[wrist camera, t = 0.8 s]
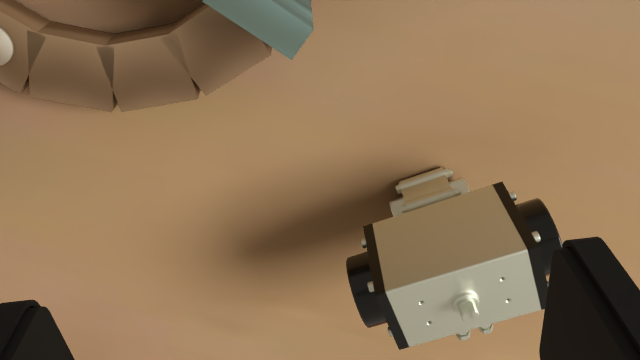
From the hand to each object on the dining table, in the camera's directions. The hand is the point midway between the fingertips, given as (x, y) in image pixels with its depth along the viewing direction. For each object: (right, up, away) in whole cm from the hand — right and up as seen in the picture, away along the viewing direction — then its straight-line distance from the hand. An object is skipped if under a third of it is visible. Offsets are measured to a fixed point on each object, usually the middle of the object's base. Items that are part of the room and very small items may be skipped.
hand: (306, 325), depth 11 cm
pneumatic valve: (+8, +2, +30) cm, 31 cm away
